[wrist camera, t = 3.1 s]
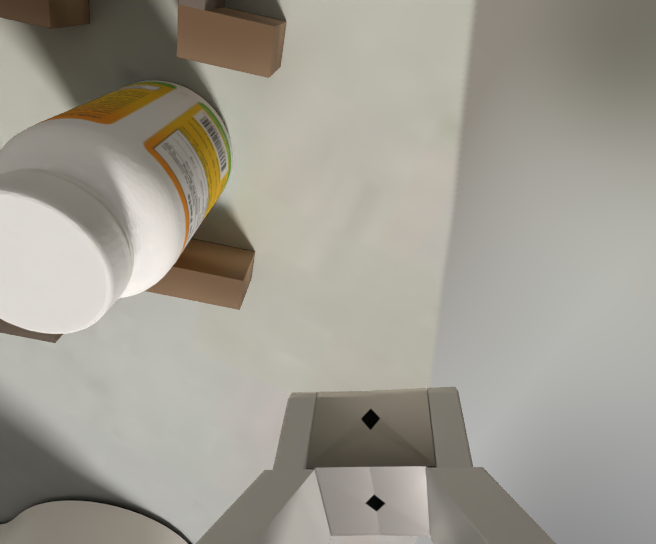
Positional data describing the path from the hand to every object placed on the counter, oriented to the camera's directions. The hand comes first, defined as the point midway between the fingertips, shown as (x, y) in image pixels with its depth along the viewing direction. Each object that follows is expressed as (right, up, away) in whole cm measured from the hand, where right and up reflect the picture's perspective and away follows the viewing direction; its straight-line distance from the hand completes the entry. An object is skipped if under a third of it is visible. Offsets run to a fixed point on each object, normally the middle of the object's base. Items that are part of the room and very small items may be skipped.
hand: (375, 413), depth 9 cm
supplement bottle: (-7, +8, +11) cm, 15 cm away
